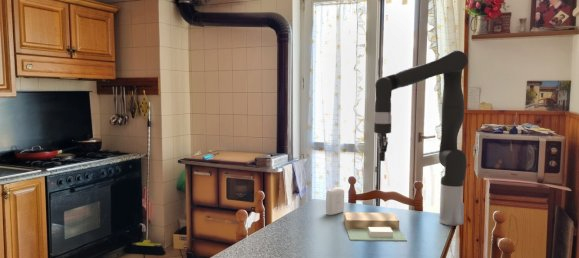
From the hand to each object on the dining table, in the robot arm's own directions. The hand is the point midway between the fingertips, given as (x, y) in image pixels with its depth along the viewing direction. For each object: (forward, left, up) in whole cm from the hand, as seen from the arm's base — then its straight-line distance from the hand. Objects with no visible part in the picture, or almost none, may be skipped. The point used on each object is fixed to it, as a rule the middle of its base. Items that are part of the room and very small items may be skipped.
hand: (382, 160), depth 195 cm
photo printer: (+20, -10, -27) cm, 35 cm away
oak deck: (+6, +9, -27) cm, 29 cm away
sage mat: (+6, +22, -27) cm, 35 cm away
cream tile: (+4, +22, -25) cm, 33 cm away
